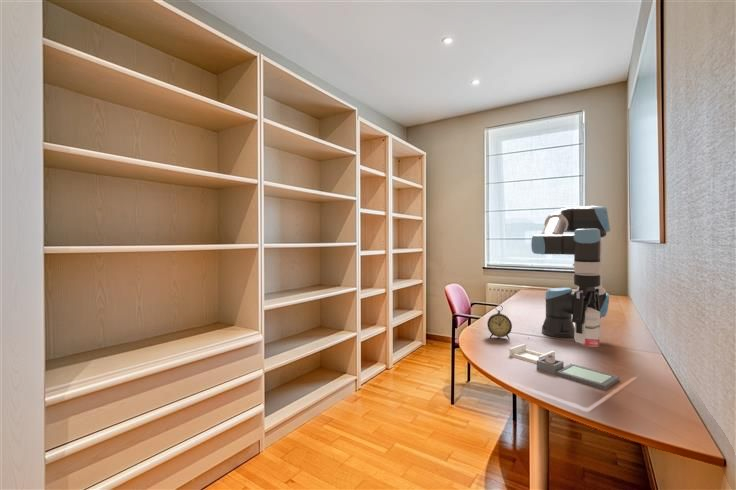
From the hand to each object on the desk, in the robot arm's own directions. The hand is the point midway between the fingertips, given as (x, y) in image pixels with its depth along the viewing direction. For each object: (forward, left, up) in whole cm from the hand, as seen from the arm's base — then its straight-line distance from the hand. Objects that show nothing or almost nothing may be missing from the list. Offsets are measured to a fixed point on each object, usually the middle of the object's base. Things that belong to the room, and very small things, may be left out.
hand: (586, 339), depth 116 cm
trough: (-4, -21, -14) cm, 26 cm away
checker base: (0, 0, -14) cm, 14 cm away
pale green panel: (0, 0, -13) cm, 13 cm away
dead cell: (+3, -11, -13) cm, 17 cm away
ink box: (0, 0, -1) cm, 1 cm away
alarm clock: (-21, -47, -14) cm, 53 cm away
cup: (+3, -11, -14) cm, 18 cm away
